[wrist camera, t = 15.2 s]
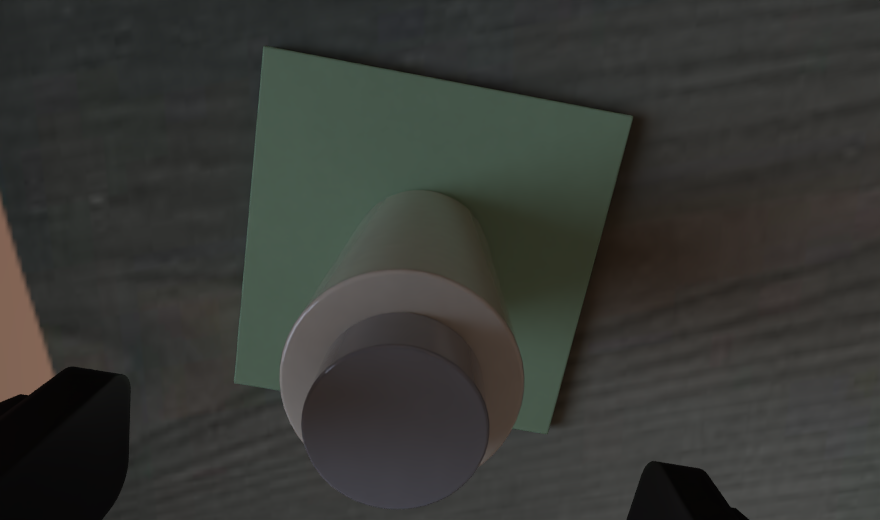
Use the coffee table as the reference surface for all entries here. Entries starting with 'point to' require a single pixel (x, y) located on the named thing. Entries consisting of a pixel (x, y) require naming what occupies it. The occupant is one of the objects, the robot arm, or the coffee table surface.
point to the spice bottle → (405, 357)
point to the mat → (433, 169)
